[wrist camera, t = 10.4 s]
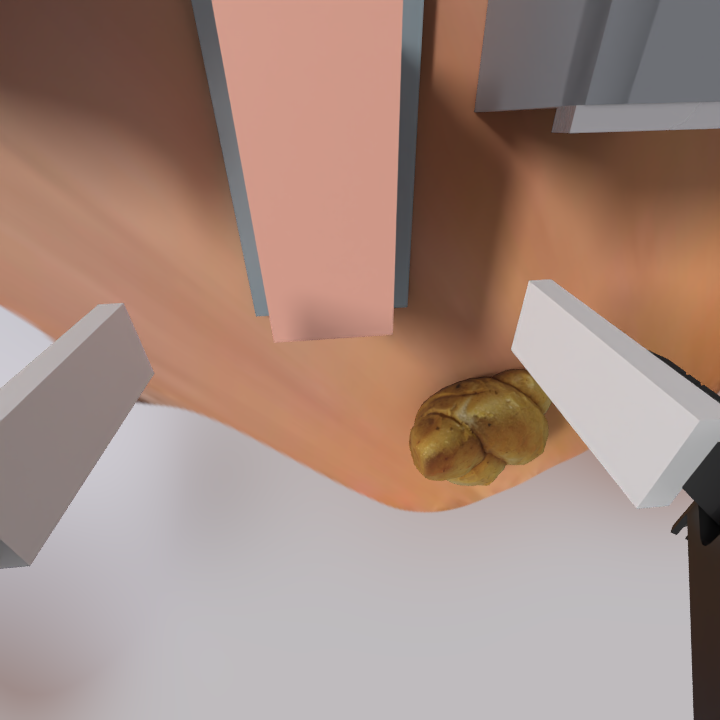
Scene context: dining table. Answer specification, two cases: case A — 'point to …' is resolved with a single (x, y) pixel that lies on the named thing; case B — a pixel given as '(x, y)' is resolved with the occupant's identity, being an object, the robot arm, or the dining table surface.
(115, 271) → the dining table surface
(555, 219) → the dining table surface
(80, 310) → the dining table surface
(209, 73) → the mat
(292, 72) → the salmon pink rectangular block
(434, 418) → the bread roll
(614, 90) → the box
